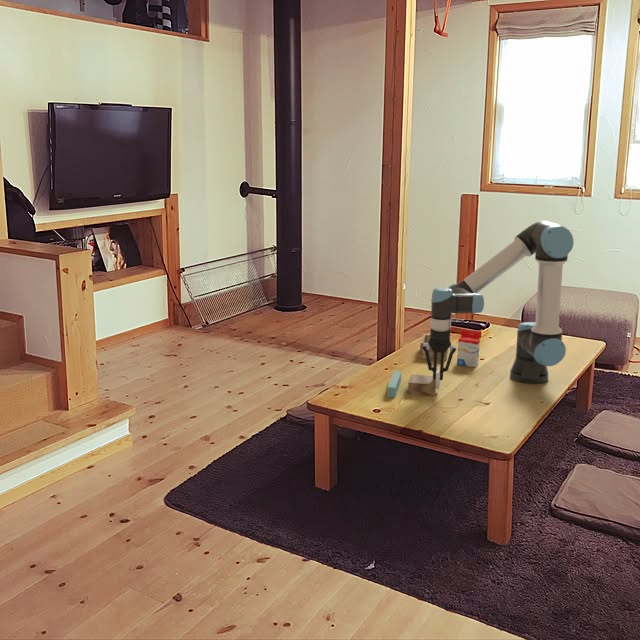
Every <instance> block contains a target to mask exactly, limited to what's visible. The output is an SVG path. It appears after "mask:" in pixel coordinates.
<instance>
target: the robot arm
mask: <svg viewBox="0 0 640 640" xmlns="http://www.w3.org/2000/svg"><path fill="white" fill-rule="evenodd" d="M573 247H574V236H573V234H572V232H571V231H570V230H569V229H568V228H567V227H566V226H564V225H562V224H560V223H555V222H552V221H549V220H539V221H537V222H534V223H532V224H531V225H529V226H528V227H527V228H525V229H523V230H522V231H520V233H518V234H517V235H516V236H514V240H513V241H512V242H511V243H509V244H508V245H507V246H505V247H504V248H503V249H502V250H500V251H499V252H497V253H496V254H495V255H494V256H493V257H491V258H490V259H489V260H487V261H486V262H485V263H484V264H482V265H481V266H480V267H478V268H477V269H476V270H474V271H473V272H471V274H469V275H468V276H466V277H465V278H464V279H463V280H461V281H460V282H458V283H453V284H451V285H448V287H436V288H434V289H433V290H432V293H431V300H430V301H431V310H430V311H431V313H430V314H431V315H430V330H429V331H430V332H429V334H430V340H429V342H428V344H426V345H425V344H424V345H423V350H424V351H425V354H426V359H425V360H426V363H427V368H428V370H429V371H431V372H432V376H433V380H436V385H435V389H436V390H440V386H441V381H443V379H444V373H445V372H448V371H449V368H450V364H451V361H452V360H453V359H452V358H453V355H454V354H455V352H456V351H457V347H456V346H454V345H453V344H452V341H451V327H452V314H477V313H478V314H481V313H482V312H483V310H484V308H485V307H484V306H485V298H484V296H483V294H482V293H479V292H481V291H482V290H483V289H485V288H486V287H488V285H491V283H493V282H494V281H496V279H498V278H499V277H501V276H502V275H503V274H504V273H506V272H507V271H509V270H510V269H511V268H513V267H514V266H515V265H517V264H518V263H519V262H520V261H522V260H523V259H524V258H526V257H531V256H533V255H534V254H535V257H534V259H535V261H536V262H537V263H538V278H537V291H536V292H537V294H536V307H535V308H536V310H535V311H536V312H535V322H533V321H532V322H531V321H528V322H527V321H526V322H520V323H519V324H518V326H517V330H516V332H517V334H516V335H517V336H516V349H515V359H514V361H513V364H512V366H511V368H510V371H509V376H510V379H512V380H513V381H517V382H519V383H520V382H521V383H524V384H542V383H546V382H549V371H548V367H552V366H556V365H558V364H559V363H560V362H562V361H563V360H564V358H565V356H566V351H567V348H566V345H565V343H564V342H563V329H562V328H561V327H560V326H559V325H560V312H561V311H560V310H561V296H562V295H561V294H562V282H563V267H564V266H563V265H564V264H565V263H567V262H568V257H569V256H568V255H569V253H571V251H572V250H573ZM429 346H430V347H431V349H432V350H433V351H434V359H433V363H432V359H430V354H429ZM447 349H448V350H449V353H448V356H447V360H446V363H445V360H444V352H446V351H447ZM438 353H441V360H439V363H440V364H439V365H440V366H439V370H438V360H437V354H438ZM432 364H433V366H432Z"/></svg>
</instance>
